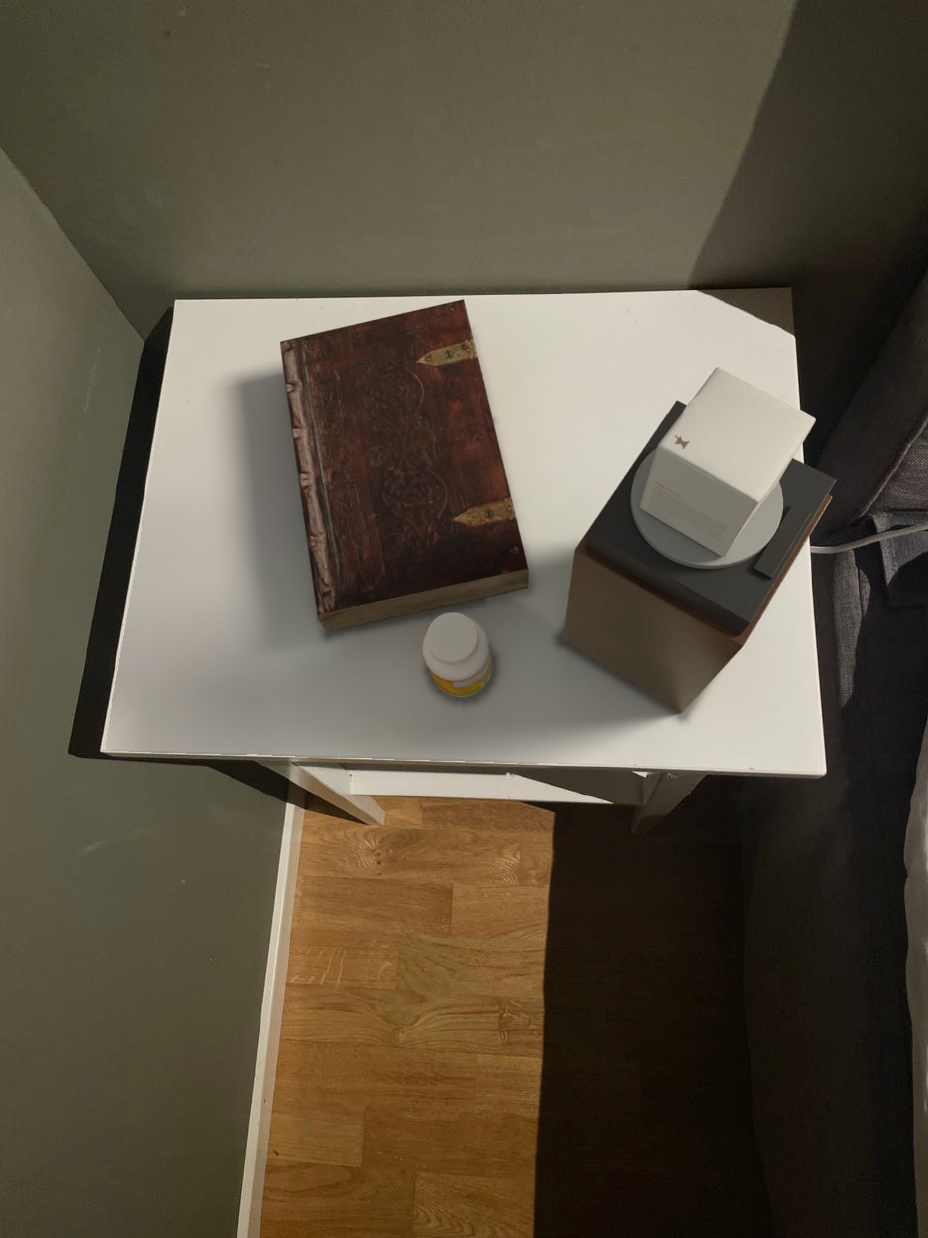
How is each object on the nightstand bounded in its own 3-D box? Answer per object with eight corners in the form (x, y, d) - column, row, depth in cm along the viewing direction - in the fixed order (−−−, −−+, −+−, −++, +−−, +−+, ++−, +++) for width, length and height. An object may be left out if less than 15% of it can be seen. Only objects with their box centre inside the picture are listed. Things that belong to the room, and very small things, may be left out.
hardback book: (290, 371, 81) (275, 339, 76) (467, 333, 80) (464, 298, 76) (327, 631, 71) (313, 614, 66) (528, 589, 71) (528, 568, 66)
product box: (723, 562, 46) (758, 505, 39) (635, 508, 47) (653, 445, 41) (777, 485, 47) (819, 417, 40) (690, 435, 49) (716, 362, 42)
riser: (750, 601, 69) (833, 496, 50) (682, 713, 66) (743, 646, 47) (631, 535, 72) (667, 412, 53) (562, 640, 69) (574, 550, 50)
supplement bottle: (424, 651, 70) (408, 616, 61) (480, 631, 70) (473, 593, 61) (443, 707, 68) (429, 680, 59) (501, 686, 68) (496, 656, 59)
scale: (822, 498, 50) (840, 474, 47) (739, 636, 48) (753, 620, 45) (670, 421, 53) (678, 394, 50) (584, 547, 50) (588, 527, 47)
